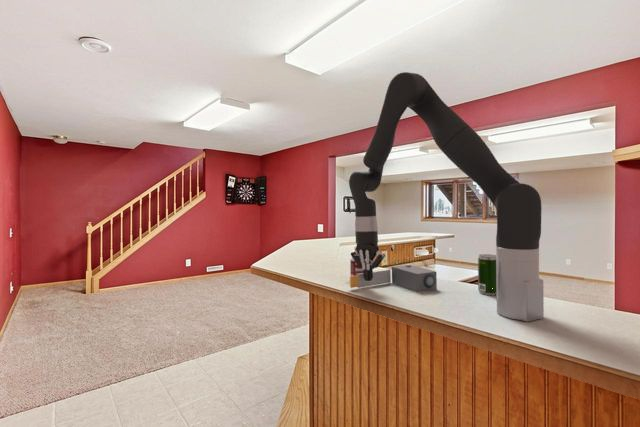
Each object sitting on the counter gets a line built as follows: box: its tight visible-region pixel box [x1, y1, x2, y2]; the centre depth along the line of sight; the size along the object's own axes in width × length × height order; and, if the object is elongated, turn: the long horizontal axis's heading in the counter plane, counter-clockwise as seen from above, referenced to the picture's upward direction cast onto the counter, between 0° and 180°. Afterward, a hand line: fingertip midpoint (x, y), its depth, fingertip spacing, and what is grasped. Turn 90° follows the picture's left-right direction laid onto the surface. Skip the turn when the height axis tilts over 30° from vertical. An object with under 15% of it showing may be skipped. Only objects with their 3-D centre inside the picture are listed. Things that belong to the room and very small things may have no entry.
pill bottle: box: [349, 250, 365, 276], centre depth 122 cm, size 6×6×11 cm
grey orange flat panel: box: [349, 268, 392, 289], centre depth 111 cm, size 18×1×5 cm, turn 117°
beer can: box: [477, 253, 497, 296], centre depth 100 cm, size 5×5×12 cm
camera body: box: [391, 263, 438, 293], centre depth 110 cm, size 15×8×7 cm, turn 22°
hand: (368, 280), depth 108 cm, fingers closed
